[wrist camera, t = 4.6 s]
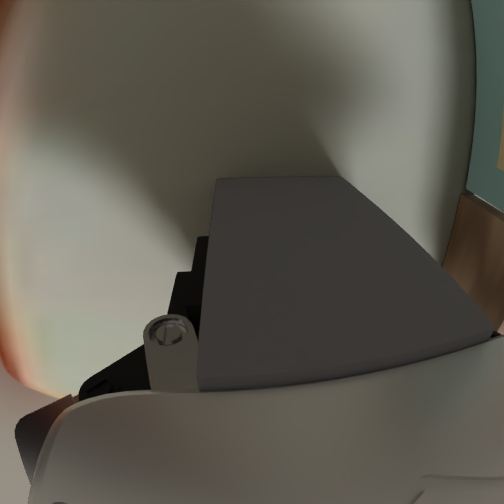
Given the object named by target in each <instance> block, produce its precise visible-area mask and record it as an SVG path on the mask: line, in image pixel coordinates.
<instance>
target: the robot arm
mask: <svg viewBox="0 0 504 504" xmlns="http://www.w3.org/2000/svg"><path fill="white" fill-rule="evenodd" d="M208 242H209V236H201V237H198V238H197V243H196V248H195V254H194V259H193V265H192V270H191V271H188V272H177V275H176V279H175V283H174V287H173V291H172V296H171V300H170V305H169V309H168V314H167V315H162V316H159V317H157V318H155V319H153V320H151V321H150V322H149V323H148V324H147V325H146V327H145V329H144V331H143V340H144V344H143V345H142V346H140V347H138V348H137V349H135V350H134V351H132V352H130V353H129V354H127V355H126V356H124V357H122V358H121V359H119V360H118V361H116V362H114V363H113V364H111V365H109V366H108V367H106V368H105V369H103V370H101V371H100V372H98V373H96V374H95V375H93V376H92V377H90V378H89V379H87V380H86V381H85V382H84V383H83V385H82V386H81V388H80V391H79V395H76V396H74V397H73V396H72V395H71V394H69V395H67V396H65V397H63V398H61V399H59V400H57V401H55V402H53V403H51V404H49V405H47V406H45V407H42V408H40V409H38V410H36V411H34V412H32V413H30V414H27V415H25V416H24V417H23V418H21V419H20V420H19V421H18V423H17V424H16V427H15V439H16V443H17V446H18V449H19V453H20V456H21V459H22V462H23V465H24V468H25V471H26V474H27V476H28V479H29V482H30V484H31V488H30V492H29V498H28V504H504V334H503V335H501V334H500V333H499V332H496V331H493V333H492V335H491V337H490V339H489V340H488V341H485V342H482V343H479V344H476V345H473V346H470V347H467V348H464V349H461V350H458V351H454V352H451V353H448V354H444V355H441V356H437V357H434V358H430V359H426V360H423V361H419V362H415V363H411V364H407V365H403V366H399V367H394V368H390V369H385V370H381V371H376V372H371V373H366V374H361V375H355V376H349V377H344V378H338V379H331V380H325V381H318V382H310V383H302V384H294V385H285V386H275V387H264V388H252V389H236V390H213V391H199V387H198V383H197V379H196V369H197V355H198V343H199V331H200V319H201V308H202V298H203V287H204V278H205V268H206V259H207V250H208Z"/></svg>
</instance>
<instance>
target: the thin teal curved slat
mask: <svg viewBox="0 0 504 504" xmlns="http://www.w3.org/2000/svg"><path fill="white" fill-rule="evenodd" d="M471 3H472V11H473V19H474V29H475V41H476V63H477V89H476V112H475V125H474V135H473V144H472V152H471V159H470V166H469V172H468V178H467V184H466V189H467V190H469V191H471V192H473V193H474V194H476V195H478V196H479V197H481V198H483V199H484V200H486V201H488V202H489V203H491V204H492V205H494V206H496V207H497V208H499V209H500V210H502V211H503V212H504V0H471Z"/></svg>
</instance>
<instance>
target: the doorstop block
mask: <svg viewBox="0 0 504 504" xmlns="http://www.w3.org/2000/svg"><path fill="white" fill-rule="evenodd" d="M495 328H496V327H495V326H494V325H493V324H492V322H491V321H490V320H489V319H488V317H487V316H486V315H485V314H484V313H483V312H482V310H481V309H480V308H479V307H478V306H477V305H476V303H475V302H474V301H473V300H472V299H471V298H470V297H469V296H468V294H467V293H466V292H465V291H464V290H463V289H462V288H461V287H460V286H459V285H458V283H457V282H456V281H455V280H454V279H453V278H452V277H451V276H450V275H449V274H448V273H447V272H446V271H445V270H444V269H443V268H442V267H441V266H440V265H439V264H438V263H437V262H436V261H435V260H434V259H433V258H432V257H431V256H430V255H429V254H428V253H427V252H426V251H425V250H424V249H423V248H422V247H421V246H420V245H419V244H418V243H417V242H416V241H415V240H414V239H413V238H412V237H411V236H410V235H409V234H408V233H407V232H405V231H404V230H403V229H402V228H401V227H400V226H399V225H398V224H397V223H396V222H395V221H393V220H392V219H391V218H390V217H389V216H388V215H387V214H386V213H384V212H383V211H382V210H381V209H380V208H379V207H377V206H376V205H375V204H374V203H373V202H372V201H370V200H369V199H368V198H367V197H366V196H365V195H363V194H362V193H361V192H360V191H358V190H357V189H356V188H355V187H354V186H352V185H351V184H350V183H349V182H347V181H346V180H345V179H344V178H342V177H330V176H295V177H252V178H229V179H217V180H216V187H215V194H214V202H213V209H212V217H211V225H210V233H209V242H208V250H207V259H206V268H205V278H204V287H203V298H202V308H201V319H200V331H199V343H198V355H197V369H196V379H197V383H198V387H199V391H213V390H236V389H252V388H264V387H275V386H285V385H294V384H302V383H310V382H318V381H325V380H331V379H338V378H344V377H349V376H355V375H361V374H366V373H371V372H376V371H381V370H385V369H390V368H394V367H399V366H403V365H407V364H411V363H415V362H419V361H423V360H426V359H430V358H434V357H437V356H441V355H444V354H448V353H451V352H454V351H458V350H461V349H464V348H467V347H470V346H473V345H476V344H479V343H482V342H485V341H488V340H489V339H490V337H491V335H492V333H493V331H494V330H495Z"/></svg>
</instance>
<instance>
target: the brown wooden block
mask: <svg viewBox="0 0 504 504" xmlns="http://www.w3.org/2000/svg"><path fill="white" fill-rule="evenodd" d="M442 268H443V269H444V270H445V271H446V272H447V273H448V274H449V275H450V276H451V277H452V278H453V279H454V280H455V281H456V282H457V283H458V285H459V286H460V287H461V288H462V289H463V290H464V291H465V292H466V293H467V294H468V296H469V297H470V298H471V299H472V300H473V301H474V302H475V303H476V305H477V306H478V307H479V308H480V309H481V310H482V312H483V313H484V314H485V315H486V316H487V317H488V319H489V320H490V321H491V322H492V324H493V325H494V326H495V327H496V328H495V330H494V331H496V332H499V333H500V334H501V335H503V334H504V213H502V212H500V211H499V210H497V209H496V208H494V207H493V206H491V205H490V204H488V203H486V202H485V201H483V200H481V199H480V198H478V197H477V196H474V195H462V194H461V195H460V200H459V204H458V209H457V213H456V218H455V222H454V226H453V230H452V234H451V237H450V241H449V245H448V248H447V252H446V255H445V258H444V262H443V265H442Z"/></svg>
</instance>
